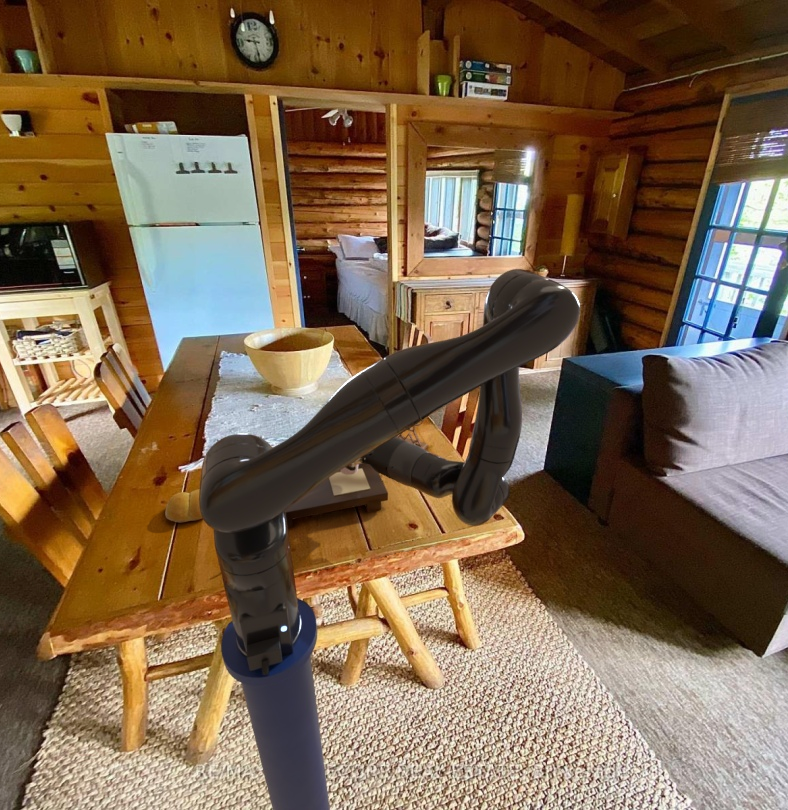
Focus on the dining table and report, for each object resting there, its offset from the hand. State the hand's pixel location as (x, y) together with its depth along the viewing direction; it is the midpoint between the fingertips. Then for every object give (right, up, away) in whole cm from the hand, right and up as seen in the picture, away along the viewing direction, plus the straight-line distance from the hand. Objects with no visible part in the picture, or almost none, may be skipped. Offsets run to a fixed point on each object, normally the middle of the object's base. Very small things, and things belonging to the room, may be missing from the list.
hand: (339, 433), depth 90 cm
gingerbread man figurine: (+14, -5, +25) cm, 29 cm away
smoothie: (+2, -8, +2) cm, 9 cm away
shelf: (-3, -15, +4) cm, 16 cm away
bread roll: (-31, -16, 0) cm, 35 cm away
